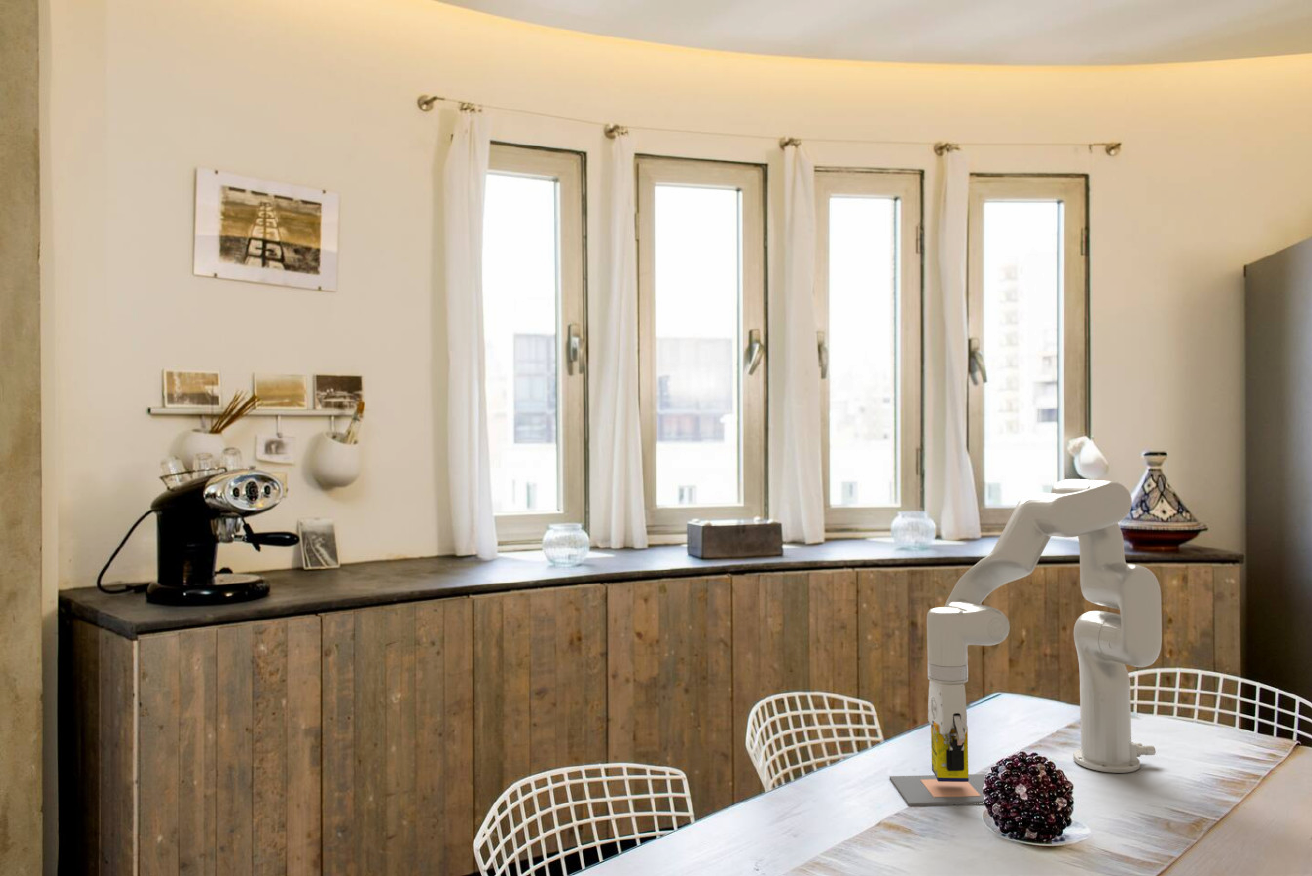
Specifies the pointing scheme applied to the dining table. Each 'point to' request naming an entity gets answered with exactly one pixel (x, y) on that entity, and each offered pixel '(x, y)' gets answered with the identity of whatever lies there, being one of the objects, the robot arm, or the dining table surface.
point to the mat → (939, 790)
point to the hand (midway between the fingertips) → (949, 763)
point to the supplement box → (939, 757)
